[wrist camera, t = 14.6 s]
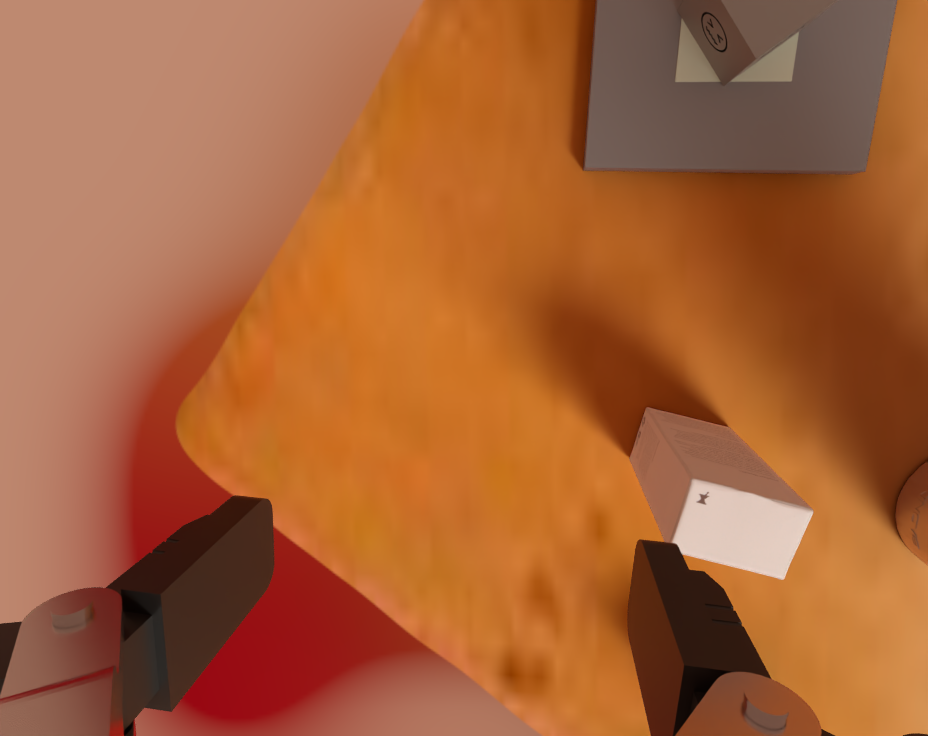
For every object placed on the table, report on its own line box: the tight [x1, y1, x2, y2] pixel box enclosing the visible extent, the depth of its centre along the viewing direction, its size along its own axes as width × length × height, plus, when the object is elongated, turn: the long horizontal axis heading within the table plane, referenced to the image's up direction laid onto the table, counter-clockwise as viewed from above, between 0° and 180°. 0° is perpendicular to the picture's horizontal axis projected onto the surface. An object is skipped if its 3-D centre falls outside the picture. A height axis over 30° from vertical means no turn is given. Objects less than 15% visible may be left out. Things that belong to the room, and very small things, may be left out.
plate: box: [583, 0, 897, 174], centre depth 32 cm, size 16×16×2 cm
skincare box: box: [630, 407, 813, 580], centre depth 33 cm, size 6×4×12 cm
